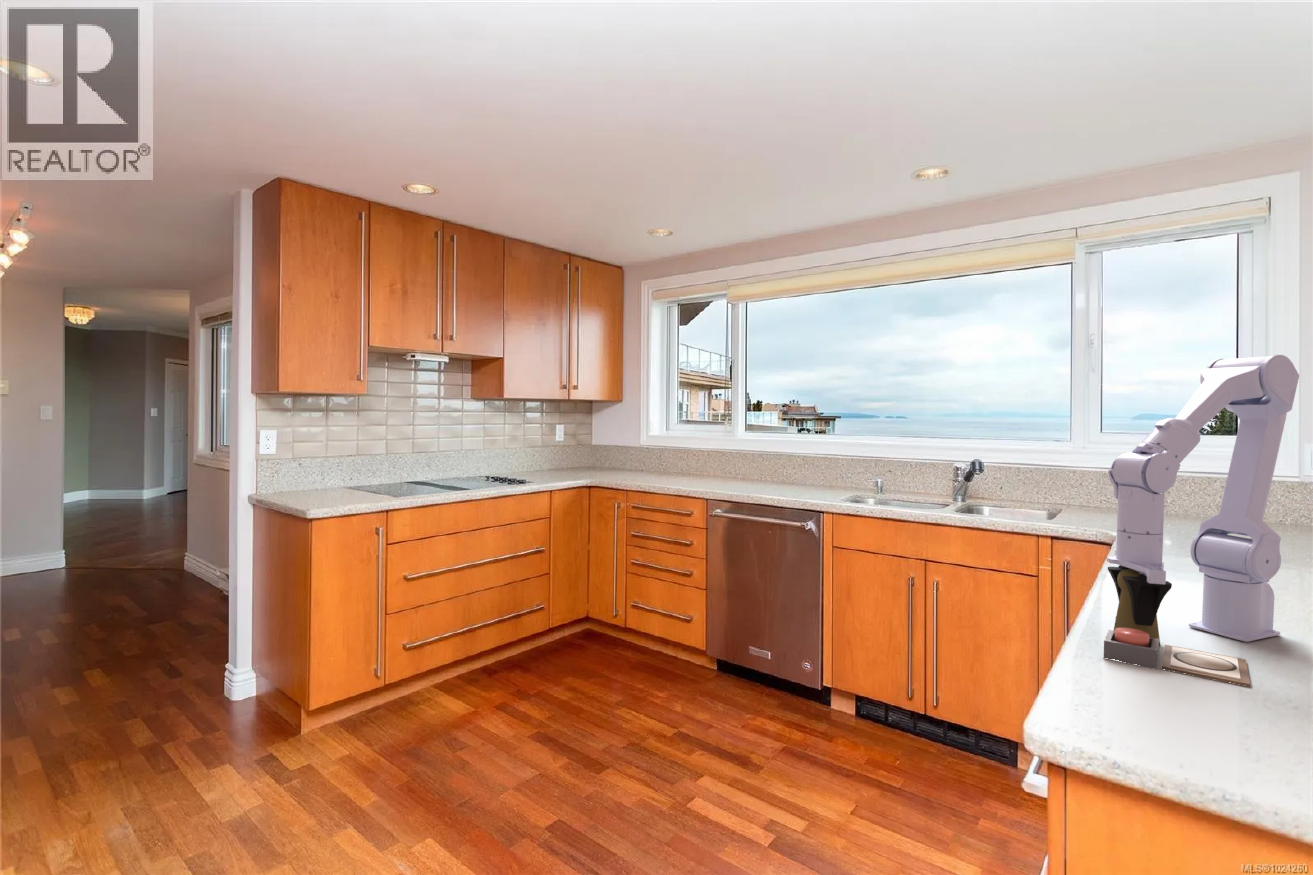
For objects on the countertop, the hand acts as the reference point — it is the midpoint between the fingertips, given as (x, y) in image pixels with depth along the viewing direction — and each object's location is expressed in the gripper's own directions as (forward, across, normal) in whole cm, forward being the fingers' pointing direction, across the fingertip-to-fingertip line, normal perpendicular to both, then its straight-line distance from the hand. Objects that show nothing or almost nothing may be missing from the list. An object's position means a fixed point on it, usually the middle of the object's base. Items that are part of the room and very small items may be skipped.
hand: (1136, 619), depth 100 cm
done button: (+1, +8, -3) cm, 9 cm away
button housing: (+3, +8, -3) cm, 10 cm away
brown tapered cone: (+4, 0, 0) cm, 4 cm away
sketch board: (+3, +8, +5) cm, 11 cm away
